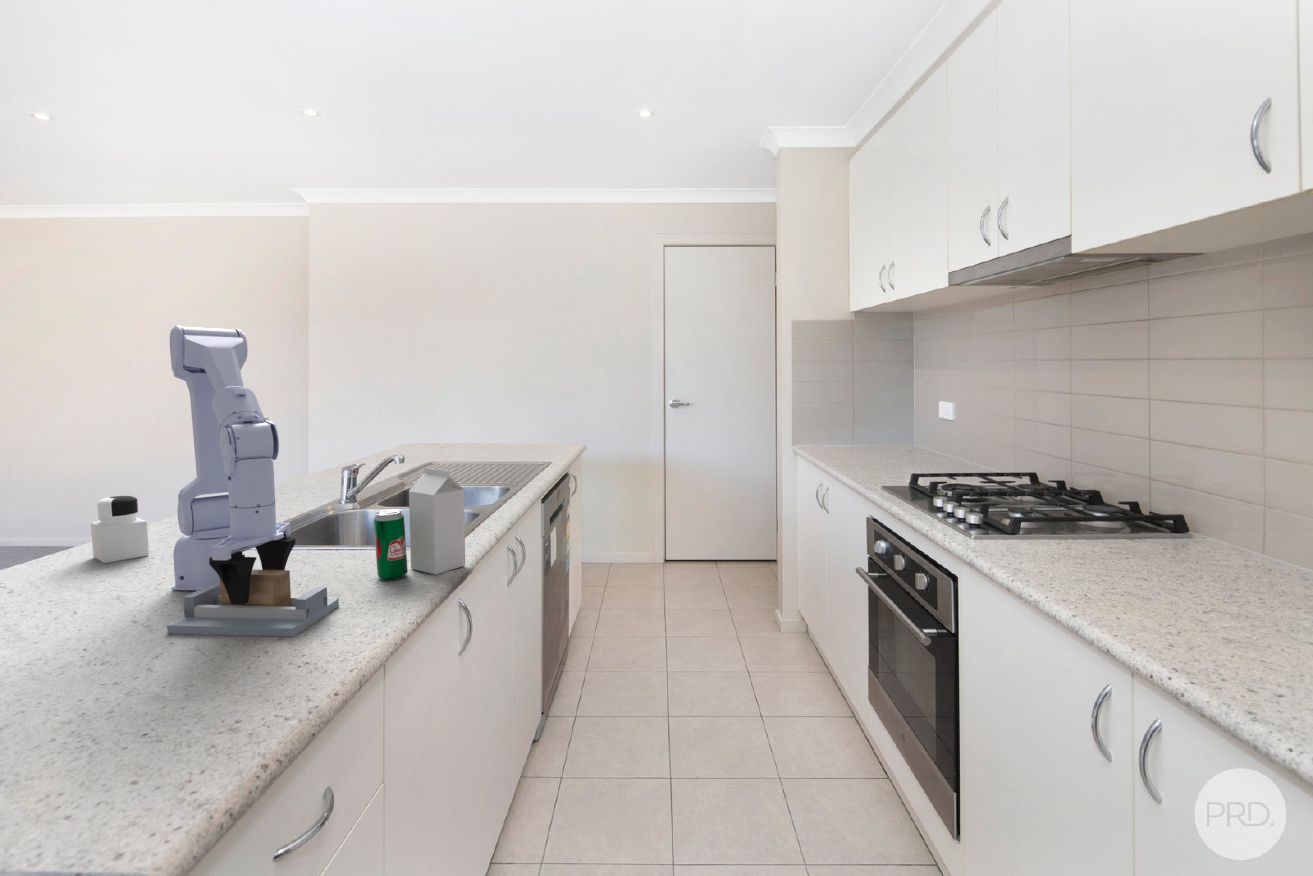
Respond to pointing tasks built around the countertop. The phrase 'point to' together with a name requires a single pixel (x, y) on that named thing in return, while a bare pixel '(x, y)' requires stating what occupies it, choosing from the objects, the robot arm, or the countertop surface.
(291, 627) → the floor track
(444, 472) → the milk carton
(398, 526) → the soda can
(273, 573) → the door slab
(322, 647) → the countertop surface
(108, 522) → the medicine bottle
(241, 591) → the robot arm
